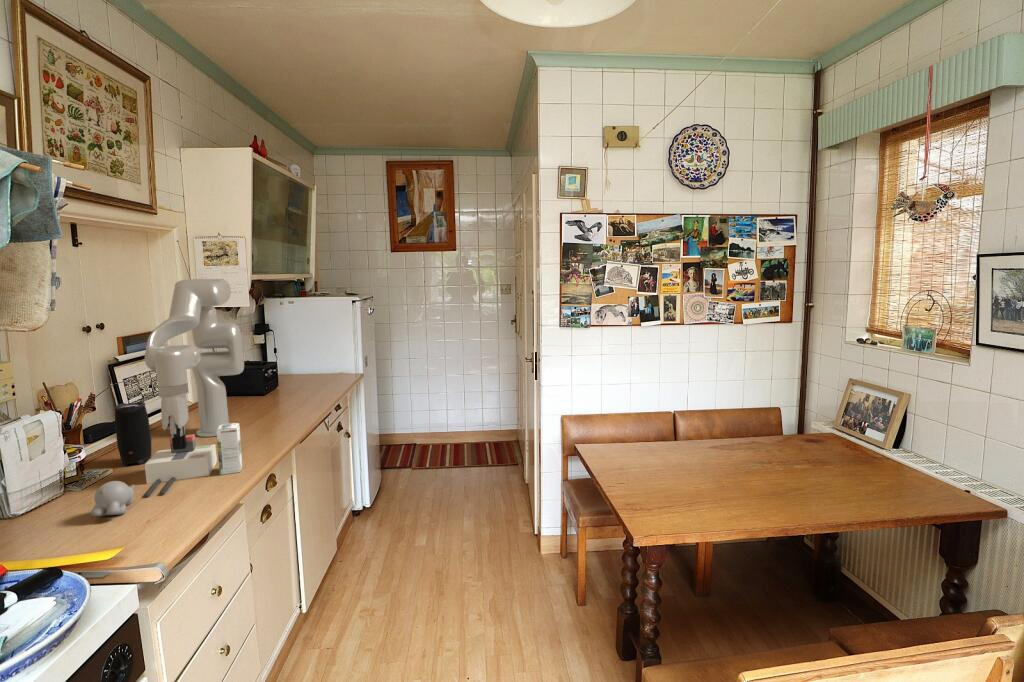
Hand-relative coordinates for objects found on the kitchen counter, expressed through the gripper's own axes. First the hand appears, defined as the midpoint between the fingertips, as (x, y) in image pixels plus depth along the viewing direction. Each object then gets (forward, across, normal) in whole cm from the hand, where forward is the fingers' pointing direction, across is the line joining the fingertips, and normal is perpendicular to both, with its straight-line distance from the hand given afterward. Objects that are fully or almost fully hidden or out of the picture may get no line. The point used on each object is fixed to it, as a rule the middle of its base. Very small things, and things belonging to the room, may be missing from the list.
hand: (180, 448), depth 153 cm
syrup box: (+8, +3, +14) cm, 17 cm away
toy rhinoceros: (+8, +23, -9) cm, 26 cm away
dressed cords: (+8, +10, -3) cm, 14 cm away
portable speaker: (+8, -17, -17) cm, 26 cm away
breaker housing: (+8, -1, 0) cm, 8 cm away
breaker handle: (+2, -4, 0) cm, 4 cm away
